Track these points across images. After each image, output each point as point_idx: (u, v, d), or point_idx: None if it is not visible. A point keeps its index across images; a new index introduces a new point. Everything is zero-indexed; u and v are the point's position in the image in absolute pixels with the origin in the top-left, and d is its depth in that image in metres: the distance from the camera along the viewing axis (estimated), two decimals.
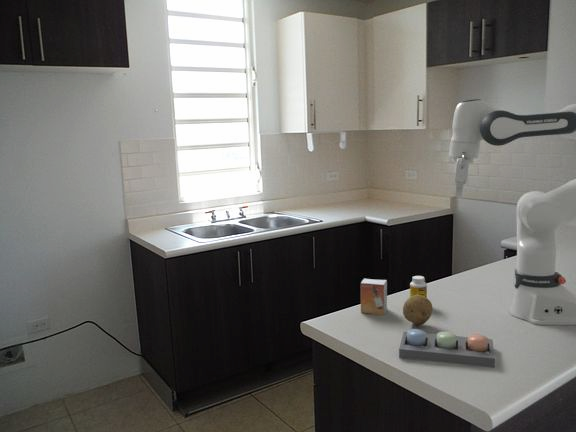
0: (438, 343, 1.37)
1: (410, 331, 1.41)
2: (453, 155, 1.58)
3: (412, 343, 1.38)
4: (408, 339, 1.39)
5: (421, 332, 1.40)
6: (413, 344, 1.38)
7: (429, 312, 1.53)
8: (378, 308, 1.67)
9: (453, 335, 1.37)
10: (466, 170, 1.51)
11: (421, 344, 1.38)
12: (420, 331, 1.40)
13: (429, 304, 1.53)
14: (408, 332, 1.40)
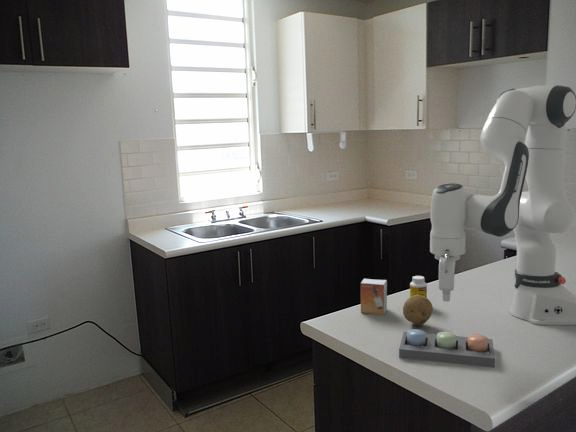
0: (438, 343, 1.37)
1: (410, 331, 1.41)
2: (435, 253, 1.31)
3: (412, 343, 1.38)
4: (408, 339, 1.39)
5: (421, 332, 1.40)
6: (413, 344, 1.38)
7: (429, 312, 1.53)
8: (378, 308, 1.67)
9: (453, 335, 1.37)
10: (452, 275, 1.24)
11: (421, 344, 1.38)
12: (420, 331, 1.40)
13: (429, 304, 1.53)
14: (408, 332, 1.40)
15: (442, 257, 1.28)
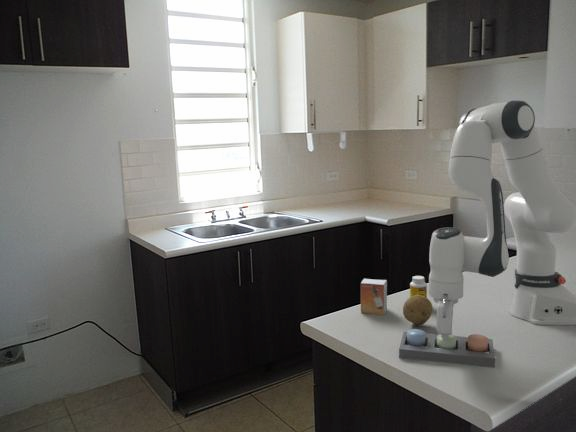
0: (438, 345, 1.37)
1: (410, 331, 1.41)
2: (433, 296, 1.33)
3: (412, 343, 1.38)
4: (408, 339, 1.39)
5: (421, 332, 1.40)
6: (413, 344, 1.38)
7: (429, 312, 1.53)
8: (378, 308, 1.67)
9: (453, 337, 1.37)
10: (449, 320, 1.26)
11: (421, 344, 1.38)
12: (420, 331, 1.40)
13: (429, 304, 1.53)
14: (408, 332, 1.40)
15: (440, 301, 1.31)
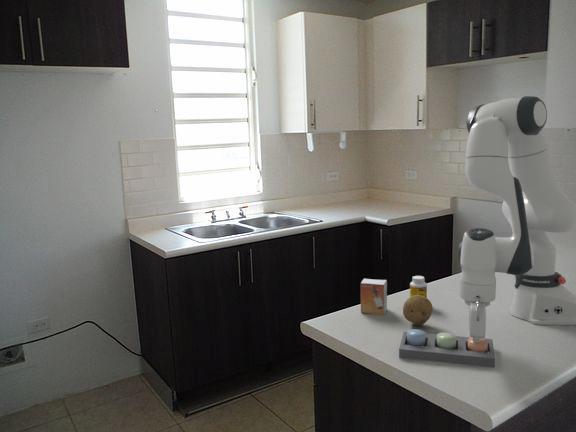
0: (438, 344, 1.37)
1: (410, 331, 1.41)
2: (465, 298, 1.31)
3: (412, 343, 1.38)
4: (408, 339, 1.39)
5: (421, 332, 1.40)
6: (413, 344, 1.38)
7: (429, 312, 1.53)
8: (378, 308, 1.67)
9: (453, 336, 1.37)
10: (483, 323, 1.24)
11: (421, 344, 1.38)
12: (420, 331, 1.40)
13: (429, 304, 1.53)
14: (408, 332, 1.40)
15: (473, 303, 1.28)
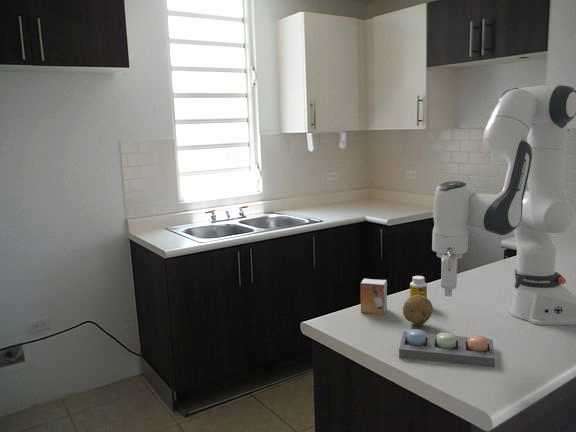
0: (438, 344, 1.37)
1: (410, 331, 1.41)
2: (437, 251, 1.30)
3: (412, 343, 1.38)
4: (408, 339, 1.39)
5: (421, 332, 1.40)
6: (413, 344, 1.38)
7: (429, 312, 1.53)
8: (378, 308, 1.67)
9: (453, 336, 1.37)
10: (454, 273, 1.23)
11: (421, 344, 1.38)
12: (420, 331, 1.40)
13: (429, 304, 1.53)
14: (408, 332, 1.40)
15: (445, 255, 1.28)
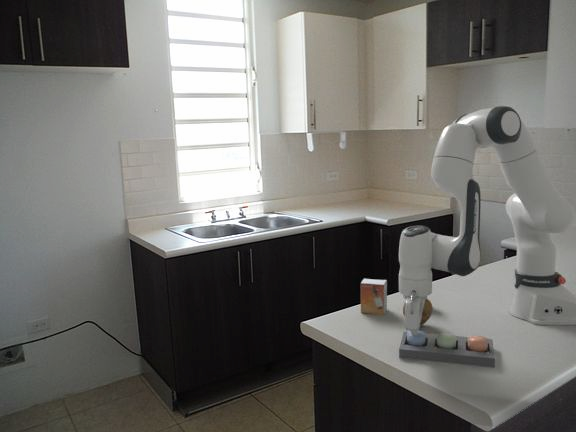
0: (438, 344, 1.37)
1: (410, 332, 1.41)
2: (402, 293, 1.36)
3: (412, 344, 1.38)
4: (408, 340, 1.39)
5: (421, 333, 1.40)
6: (413, 345, 1.38)
7: (429, 312, 1.53)
8: (378, 308, 1.67)
9: (453, 336, 1.37)
10: (417, 316, 1.29)
11: (421, 345, 1.38)
12: (420, 332, 1.40)
13: (429, 304, 1.53)
14: (408, 333, 1.40)
15: (409, 298, 1.33)
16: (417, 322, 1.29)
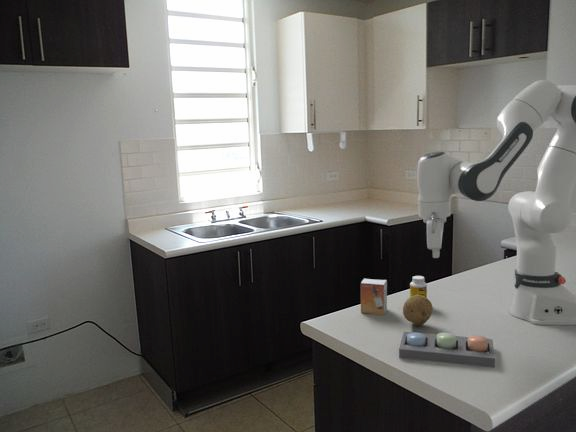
0: (438, 344, 1.37)
1: (410, 334, 1.41)
2: (423, 216, 1.42)
3: None
4: (408, 343, 1.39)
5: (421, 335, 1.40)
6: None
7: (429, 312, 1.53)
8: (378, 308, 1.67)
9: (453, 336, 1.37)
10: (438, 234, 1.35)
11: None
12: (420, 334, 1.41)
13: (429, 304, 1.53)
14: (408, 336, 1.40)
15: (429, 219, 1.40)
16: (439, 240, 1.35)
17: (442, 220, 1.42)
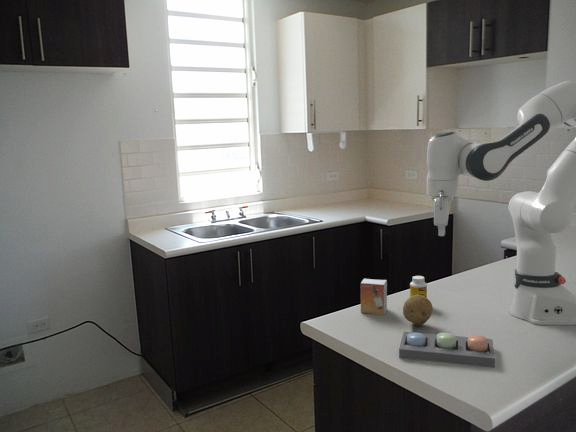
0: (438, 344, 1.37)
1: (410, 334, 1.41)
2: (431, 194, 1.45)
3: None
4: (408, 343, 1.39)
5: (421, 335, 1.40)
6: None
7: (429, 312, 1.53)
8: (378, 308, 1.67)
9: (453, 336, 1.37)
10: (445, 211, 1.38)
11: None
12: (420, 334, 1.41)
13: (429, 304, 1.53)
14: (408, 336, 1.40)
15: (437, 197, 1.43)
16: (446, 217, 1.38)
17: (449, 199, 1.45)
